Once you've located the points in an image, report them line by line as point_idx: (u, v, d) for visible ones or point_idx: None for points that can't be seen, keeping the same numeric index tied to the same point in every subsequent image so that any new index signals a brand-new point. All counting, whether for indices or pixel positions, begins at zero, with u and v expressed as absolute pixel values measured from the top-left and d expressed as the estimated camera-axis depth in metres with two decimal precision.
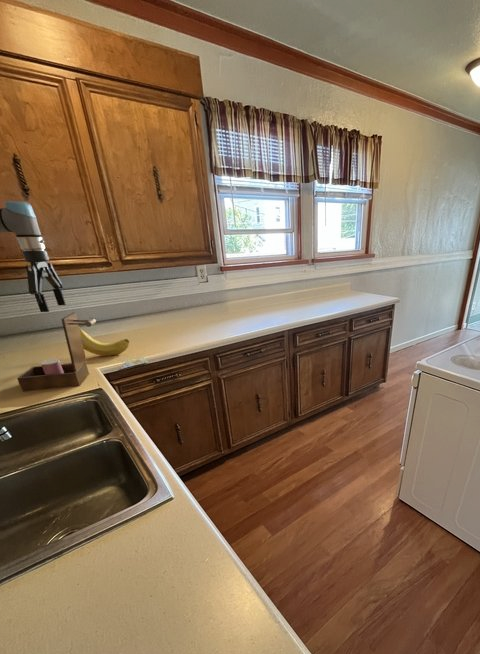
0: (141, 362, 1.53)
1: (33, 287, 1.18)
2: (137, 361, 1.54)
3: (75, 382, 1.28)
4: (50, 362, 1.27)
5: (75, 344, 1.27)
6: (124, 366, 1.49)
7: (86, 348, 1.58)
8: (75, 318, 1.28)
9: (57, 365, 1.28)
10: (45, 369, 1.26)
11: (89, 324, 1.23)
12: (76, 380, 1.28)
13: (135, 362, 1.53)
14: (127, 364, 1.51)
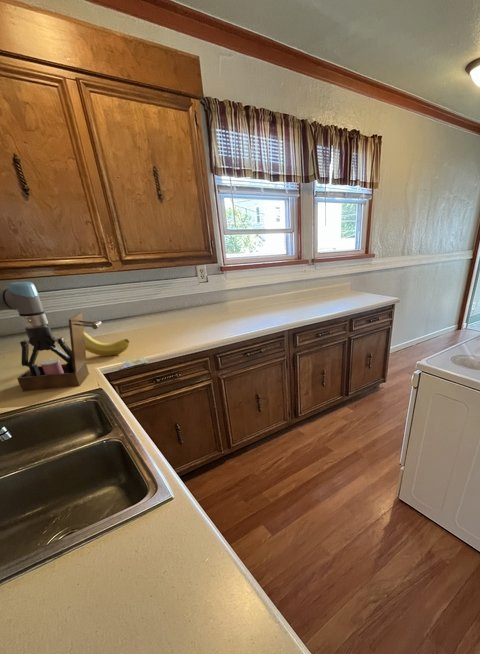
0: (141, 362, 1.53)
1: None
2: (137, 361, 1.54)
3: (75, 382, 1.28)
4: (50, 362, 1.27)
5: (78, 345, 1.27)
6: (124, 366, 1.49)
7: (86, 348, 1.58)
8: (81, 319, 1.28)
9: (57, 365, 1.28)
10: (45, 369, 1.26)
11: (95, 326, 1.24)
12: (76, 380, 1.28)
13: (135, 362, 1.53)
14: (127, 364, 1.51)
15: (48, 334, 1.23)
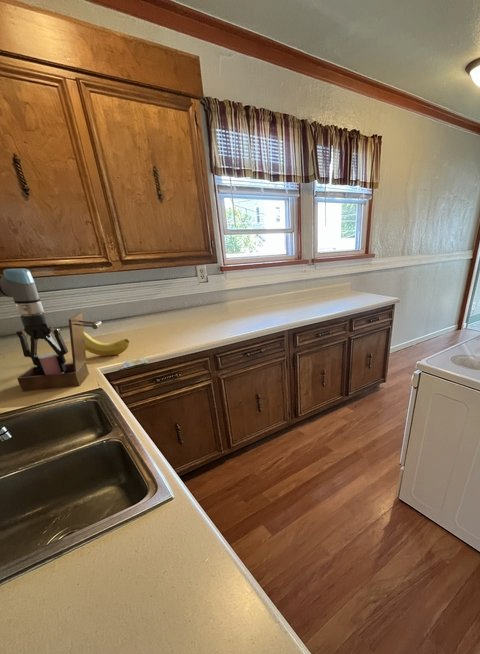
0: (141, 362, 1.53)
1: None
2: (137, 361, 1.54)
3: (75, 382, 1.28)
4: (48, 356, 1.26)
5: (78, 345, 1.27)
6: (124, 366, 1.49)
7: (86, 348, 1.58)
8: (81, 319, 1.28)
9: (55, 358, 1.27)
10: (43, 363, 1.25)
11: (95, 326, 1.24)
12: (76, 380, 1.28)
13: (135, 362, 1.53)
14: (127, 364, 1.51)
15: (44, 322, 1.21)
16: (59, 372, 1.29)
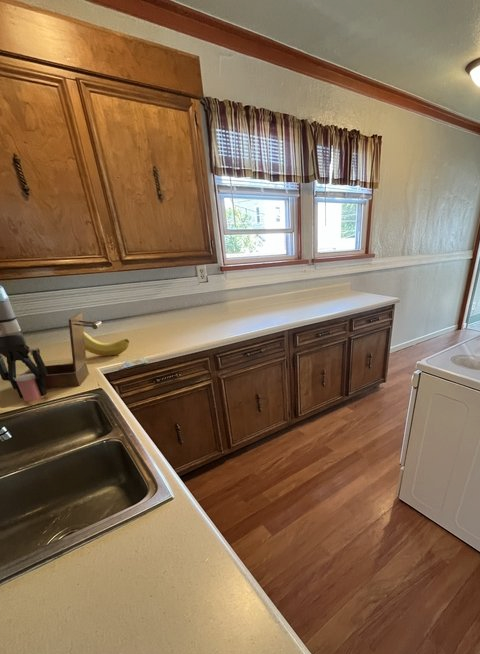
0: (141, 362, 1.53)
1: None
2: (137, 361, 1.54)
3: (75, 382, 1.28)
4: (25, 378, 1.15)
5: (78, 345, 1.27)
6: (124, 366, 1.49)
7: (86, 348, 1.58)
8: (81, 319, 1.28)
9: (33, 380, 1.16)
10: (20, 386, 1.15)
11: (95, 326, 1.24)
12: (76, 380, 1.28)
13: (135, 362, 1.53)
14: (127, 364, 1.51)
15: (20, 343, 1.10)
16: (38, 395, 1.18)
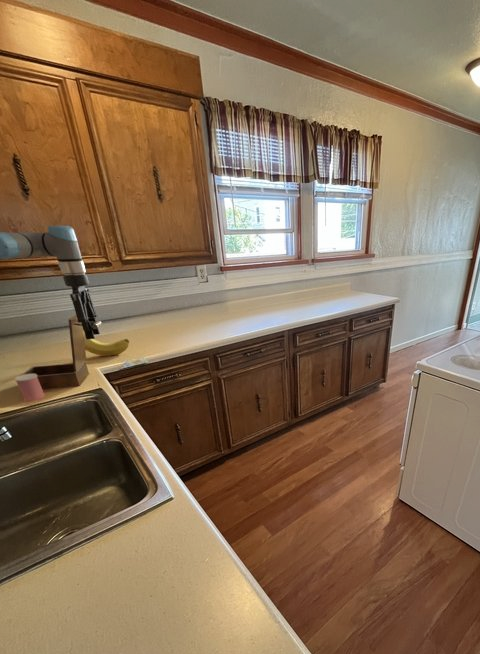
0: (141, 362, 1.53)
1: None
2: (137, 361, 1.54)
3: (75, 382, 1.28)
4: (26, 378, 1.15)
5: (78, 345, 1.27)
6: (124, 366, 1.49)
7: (86, 348, 1.58)
8: None
9: (33, 380, 1.16)
10: (20, 385, 1.15)
11: (95, 326, 1.24)
12: (76, 380, 1.28)
13: (135, 362, 1.53)
14: (127, 364, 1.51)
15: (69, 284, 1.16)
16: (38, 395, 1.18)
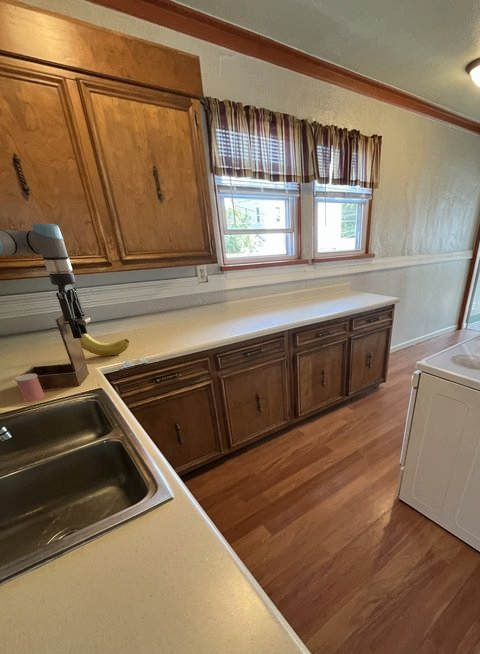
0: (141, 362, 1.53)
1: None
2: (137, 361, 1.54)
3: (75, 382, 1.28)
4: (26, 378, 1.15)
5: (72, 344, 1.26)
6: (124, 366, 1.49)
7: (86, 348, 1.58)
8: None
9: (33, 380, 1.16)
10: (20, 385, 1.15)
11: (84, 322, 1.23)
12: (76, 380, 1.28)
13: (135, 362, 1.53)
14: (127, 364, 1.51)
15: (55, 283, 1.15)
16: (38, 395, 1.18)
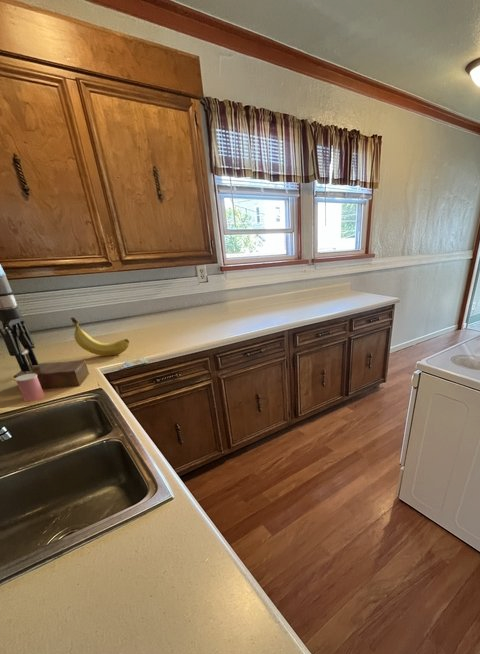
0: (141, 362, 1.53)
1: None
2: (137, 361, 1.54)
3: (75, 382, 1.28)
4: (26, 378, 1.15)
5: (52, 368, 1.28)
6: (124, 366, 1.49)
7: (86, 348, 1.58)
8: (33, 365, 1.31)
9: (33, 380, 1.16)
10: (20, 385, 1.15)
11: None
12: (76, 380, 1.28)
13: (135, 362, 1.53)
14: (127, 364, 1.51)
15: None
16: (38, 395, 1.18)
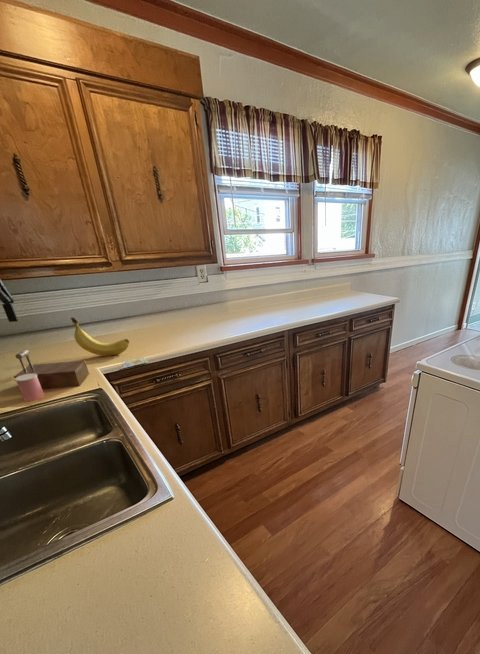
0: (141, 362, 1.53)
1: None
2: (137, 361, 1.54)
3: (75, 382, 1.28)
4: (26, 378, 1.15)
5: (52, 368, 1.28)
6: (124, 366, 1.49)
7: (86, 348, 1.58)
8: (33, 365, 1.31)
9: (33, 380, 1.16)
10: (20, 385, 1.15)
11: (18, 355, 1.22)
12: (76, 380, 1.28)
13: (135, 362, 1.53)
14: (127, 364, 1.51)
15: None
16: (38, 395, 1.18)
